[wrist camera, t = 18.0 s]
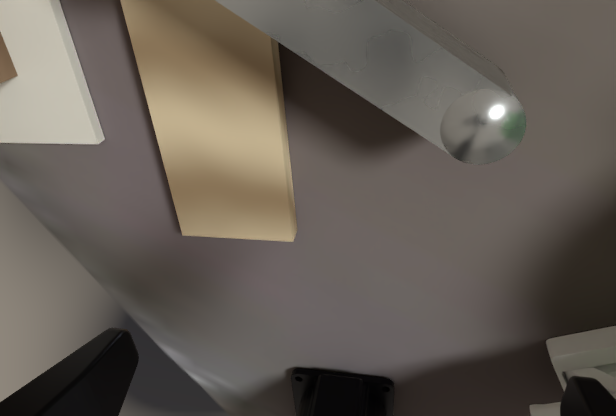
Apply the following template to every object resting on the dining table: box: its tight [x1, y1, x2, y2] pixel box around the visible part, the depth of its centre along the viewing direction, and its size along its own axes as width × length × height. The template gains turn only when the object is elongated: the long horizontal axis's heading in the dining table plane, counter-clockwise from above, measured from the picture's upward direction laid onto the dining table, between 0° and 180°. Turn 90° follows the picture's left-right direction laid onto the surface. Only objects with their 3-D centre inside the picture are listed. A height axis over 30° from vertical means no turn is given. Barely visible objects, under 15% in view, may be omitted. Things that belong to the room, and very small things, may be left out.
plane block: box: [120, 0, 297, 242], centre depth 20 cm, size 17×6×1 cm, turn 4°
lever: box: [215, 0, 526, 165], centre depth 15 cm, size 16×3×4 cm, turn 60°
